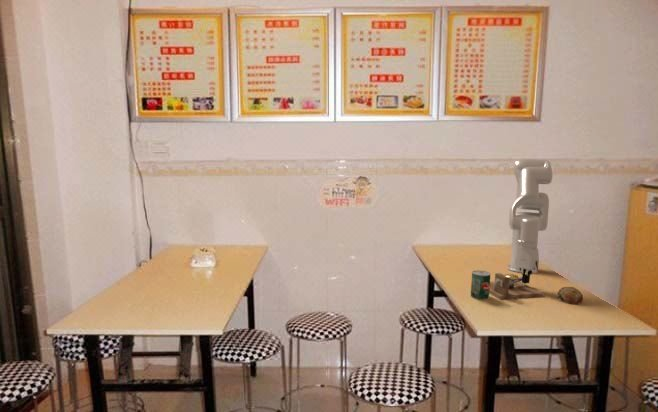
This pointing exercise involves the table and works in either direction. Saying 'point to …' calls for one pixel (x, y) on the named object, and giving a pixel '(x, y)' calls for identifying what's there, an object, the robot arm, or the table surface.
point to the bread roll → (570, 295)
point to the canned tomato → (480, 285)
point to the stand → (503, 291)
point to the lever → (513, 279)
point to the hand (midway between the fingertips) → (525, 282)
